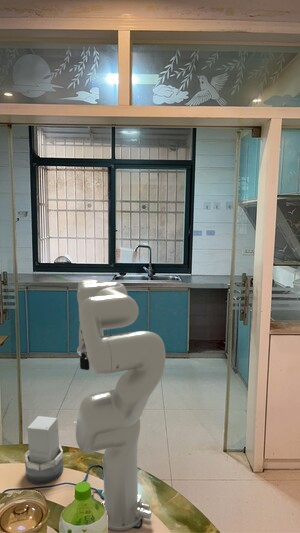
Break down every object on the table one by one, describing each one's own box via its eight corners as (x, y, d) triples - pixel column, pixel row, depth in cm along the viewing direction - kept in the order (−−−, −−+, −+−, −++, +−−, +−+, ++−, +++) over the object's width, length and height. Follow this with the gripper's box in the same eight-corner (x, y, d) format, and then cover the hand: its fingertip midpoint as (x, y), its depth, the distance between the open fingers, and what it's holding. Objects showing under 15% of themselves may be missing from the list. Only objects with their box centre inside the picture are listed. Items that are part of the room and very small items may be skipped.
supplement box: (60, 452, 123) (58, 417, 121) (49, 466, 116) (47, 430, 114) (40, 449, 125) (38, 415, 123) (28, 463, 118) (26, 427, 116)
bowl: (70, 463, 125) (69, 445, 124) (49, 488, 114) (48, 468, 113) (40, 456, 129) (39, 438, 128) (18, 479, 118) (16, 460, 117)
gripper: (87, 324, 115) (89, 375, 117) (111, 310, 131) (112, 355, 133) (66, 322, 117) (69, 372, 120) (92, 308, 133) (93, 353, 136)
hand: (91, 363), depth 126 cm, fingers open, 9 cm apart
